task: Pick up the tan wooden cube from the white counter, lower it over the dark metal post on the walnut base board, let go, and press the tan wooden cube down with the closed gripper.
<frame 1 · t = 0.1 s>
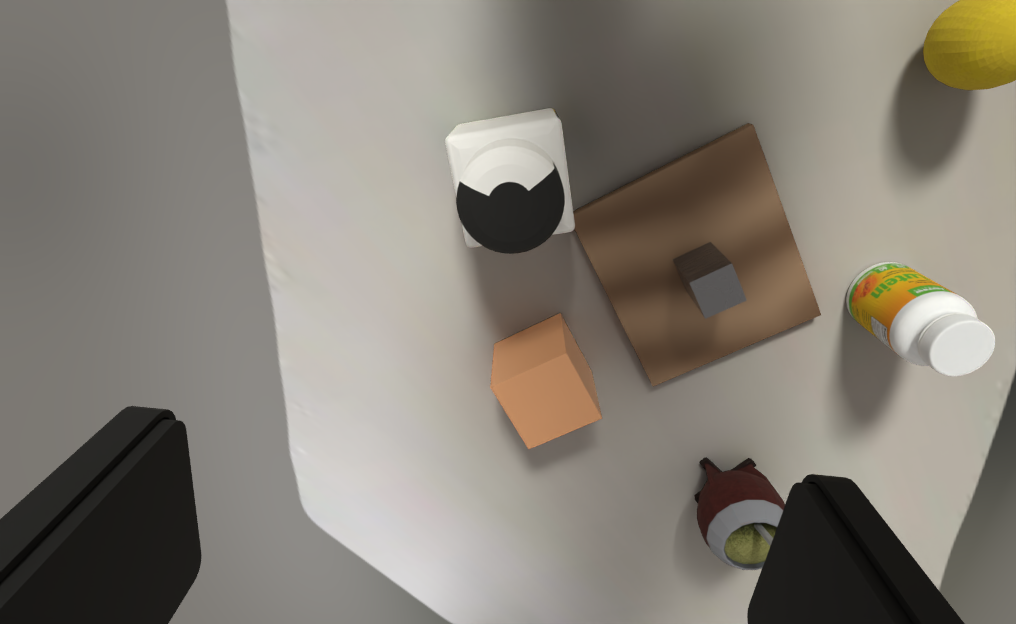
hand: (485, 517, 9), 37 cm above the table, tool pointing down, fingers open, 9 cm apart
medicine bottle: (512, 165, 44), on the table
tan wooden cube: (543, 357, 50), on the table
post: (707, 278, 43), on the base board, point 4 cm above the table
base board: (695, 263, 47), on the table
mate gourd: (722, 473, 55), on the table
lemon: (939, 42, 40), on the table
supplement bottle: (878, 292, 48), on the table
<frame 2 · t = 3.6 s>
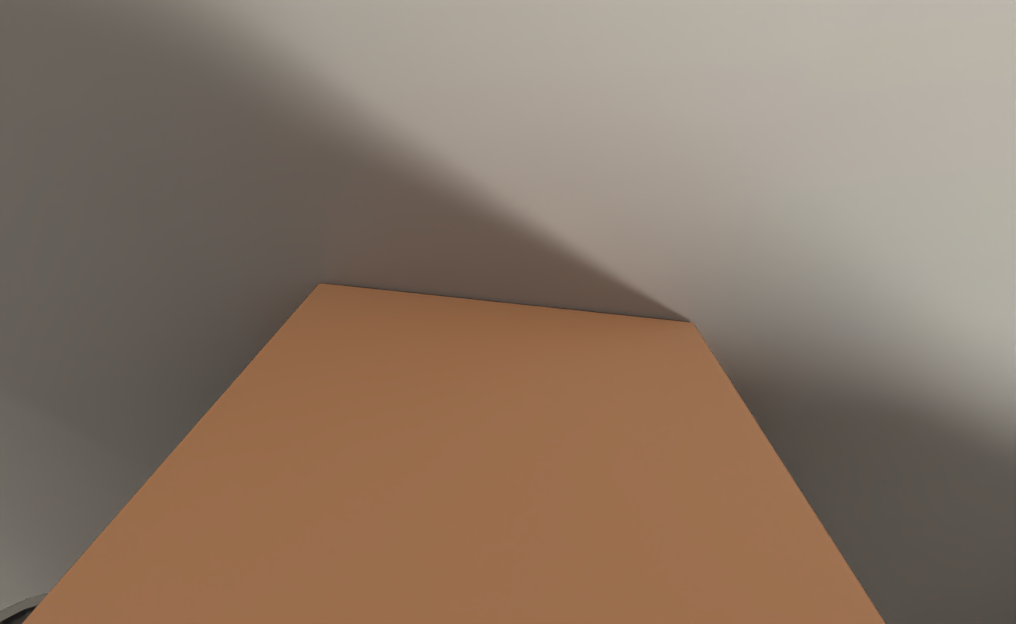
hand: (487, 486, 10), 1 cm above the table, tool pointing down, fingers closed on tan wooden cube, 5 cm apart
tan wooden cube: (490, 457, 11), on the table, touching gripper
when the fingers open (3 cm above the table, at t = 9.9 s): tan wooden cube drops 1 cm, resting on base board.
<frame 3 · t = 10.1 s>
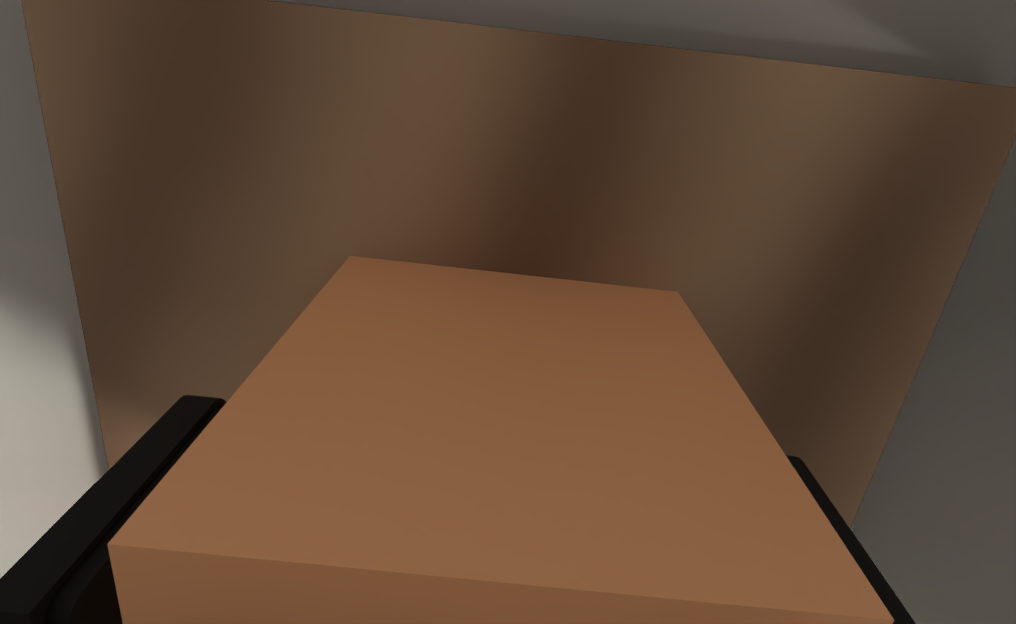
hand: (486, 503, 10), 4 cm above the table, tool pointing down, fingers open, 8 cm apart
tan wooden cube: (498, 413, 12), point 1 cm above the table, touching base board
base board: (494, 387, 13), on the table
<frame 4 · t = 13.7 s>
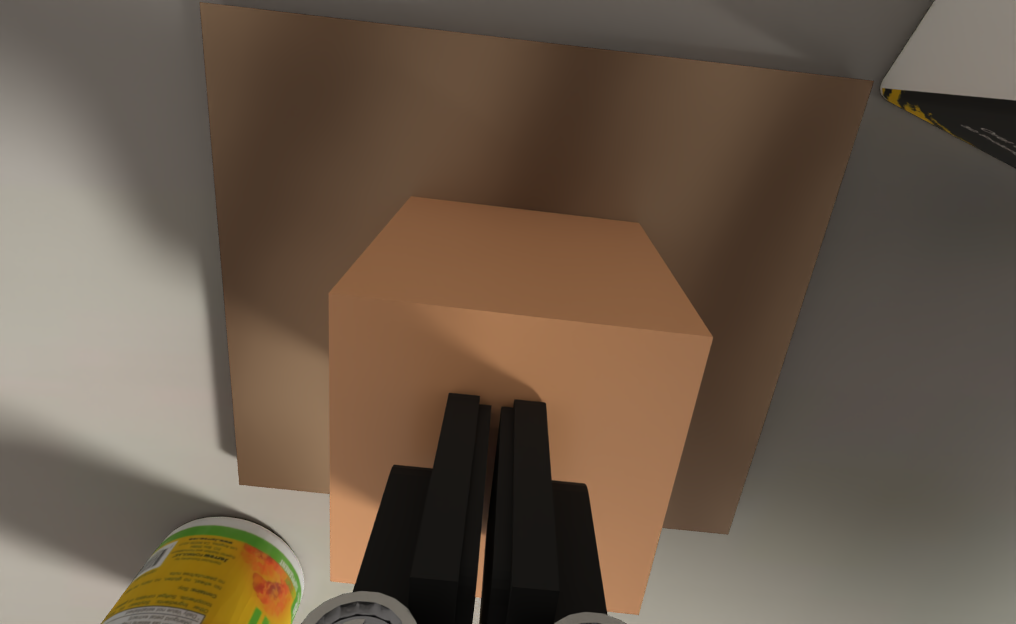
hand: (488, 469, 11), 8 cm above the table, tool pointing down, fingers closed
tan wooden cube: (512, 314, 17), point 1 cm above the table, touching base board, gripper
base board: (509, 300, 18), on the table
supplement bottle: (237, 564, 23), on the table
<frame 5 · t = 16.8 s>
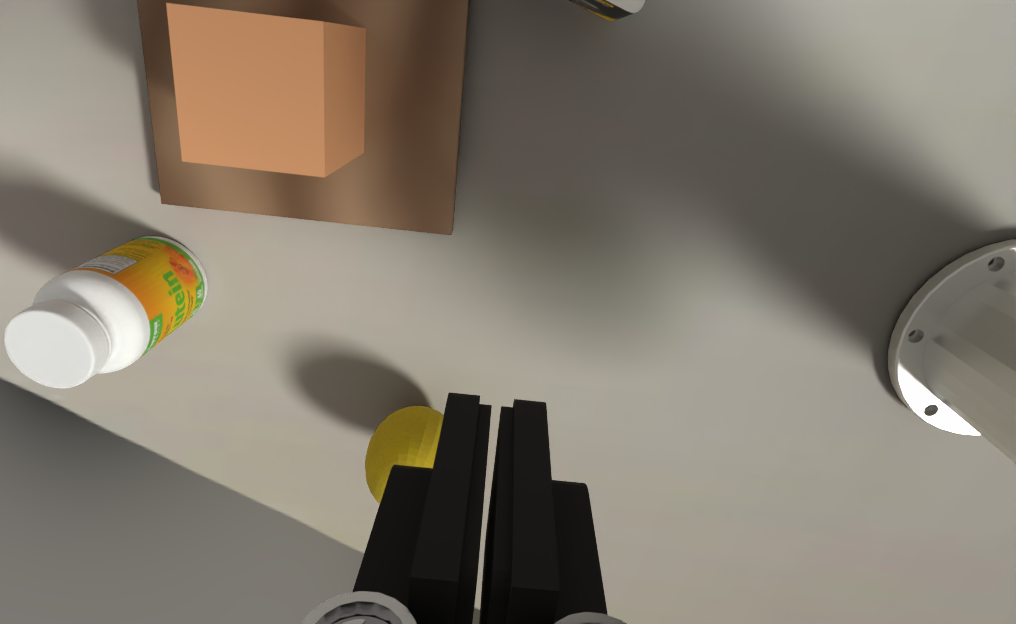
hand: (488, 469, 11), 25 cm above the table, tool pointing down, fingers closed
tan wooden cube: (306, 85, 31), point 1 cm above the table, touching base board
base board: (310, 84, 32), on the table
lemon: (424, 418, 40), on the table
supplement bottle: (166, 276, 36), on the table
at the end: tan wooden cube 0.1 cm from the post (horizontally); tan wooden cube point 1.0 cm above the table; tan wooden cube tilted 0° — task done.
